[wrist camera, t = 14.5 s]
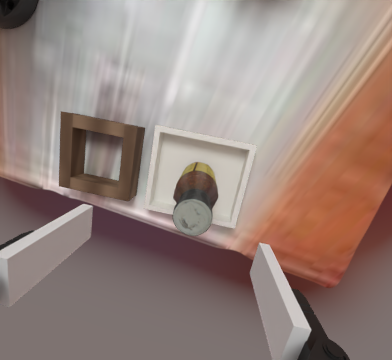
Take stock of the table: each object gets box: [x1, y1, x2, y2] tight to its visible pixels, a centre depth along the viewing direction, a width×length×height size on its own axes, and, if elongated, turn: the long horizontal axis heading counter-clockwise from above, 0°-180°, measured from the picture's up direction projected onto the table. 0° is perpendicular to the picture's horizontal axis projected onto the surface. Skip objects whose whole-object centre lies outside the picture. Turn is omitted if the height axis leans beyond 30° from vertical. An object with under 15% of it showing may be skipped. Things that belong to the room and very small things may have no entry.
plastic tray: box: [144, 125, 257, 229], centre depth 38 cm, size 18×16×4 cm
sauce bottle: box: [173, 162, 218, 236], centre depth 29 cm, size 7×6×20 cm
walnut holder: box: [59, 112, 145, 201], centre depth 38 cm, size 14×14×4 cm
